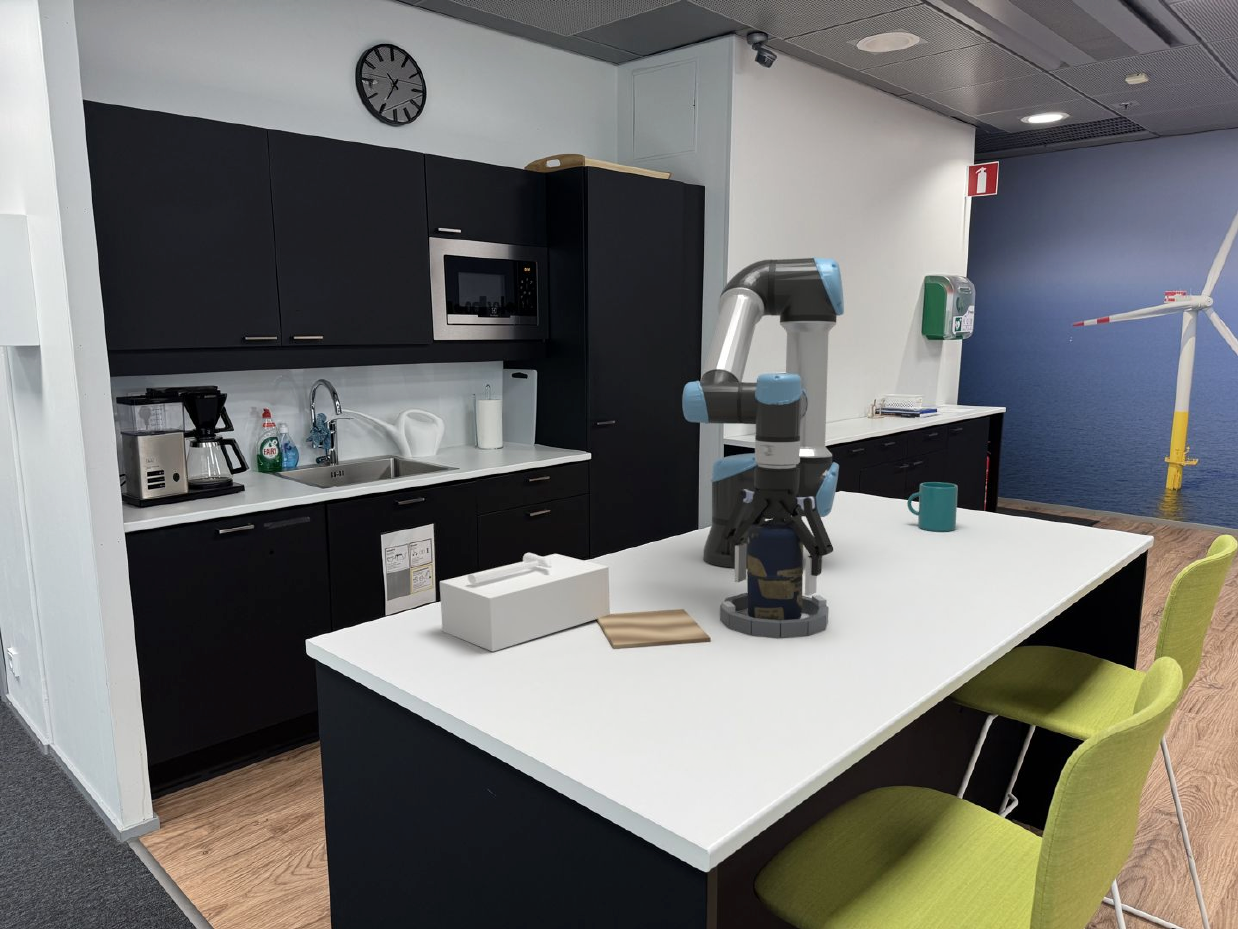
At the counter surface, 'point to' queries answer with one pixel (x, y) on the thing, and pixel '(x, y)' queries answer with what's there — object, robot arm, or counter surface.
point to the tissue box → (524, 600)
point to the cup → (936, 506)
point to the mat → (651, 628)
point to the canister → (774, 571)
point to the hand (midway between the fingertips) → (774, 587)
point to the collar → (775, 627)
